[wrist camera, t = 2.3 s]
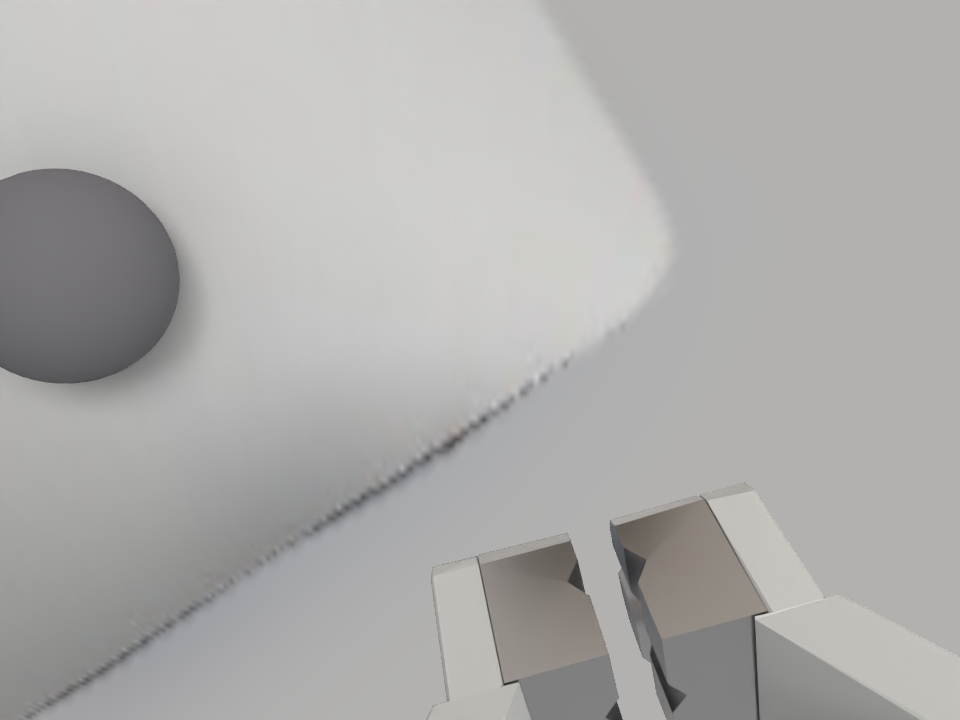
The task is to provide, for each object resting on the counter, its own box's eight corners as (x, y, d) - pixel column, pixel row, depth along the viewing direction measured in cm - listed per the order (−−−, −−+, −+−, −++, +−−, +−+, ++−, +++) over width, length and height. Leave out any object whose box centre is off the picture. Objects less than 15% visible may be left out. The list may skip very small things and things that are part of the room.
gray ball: (-38, 271, 22) (-126, 376, 17) (19, 102, 20) (-65, 175, 16) (153, 344, 24) (114, 454, 19) (222, 196, 22) (196, 283, 17)
